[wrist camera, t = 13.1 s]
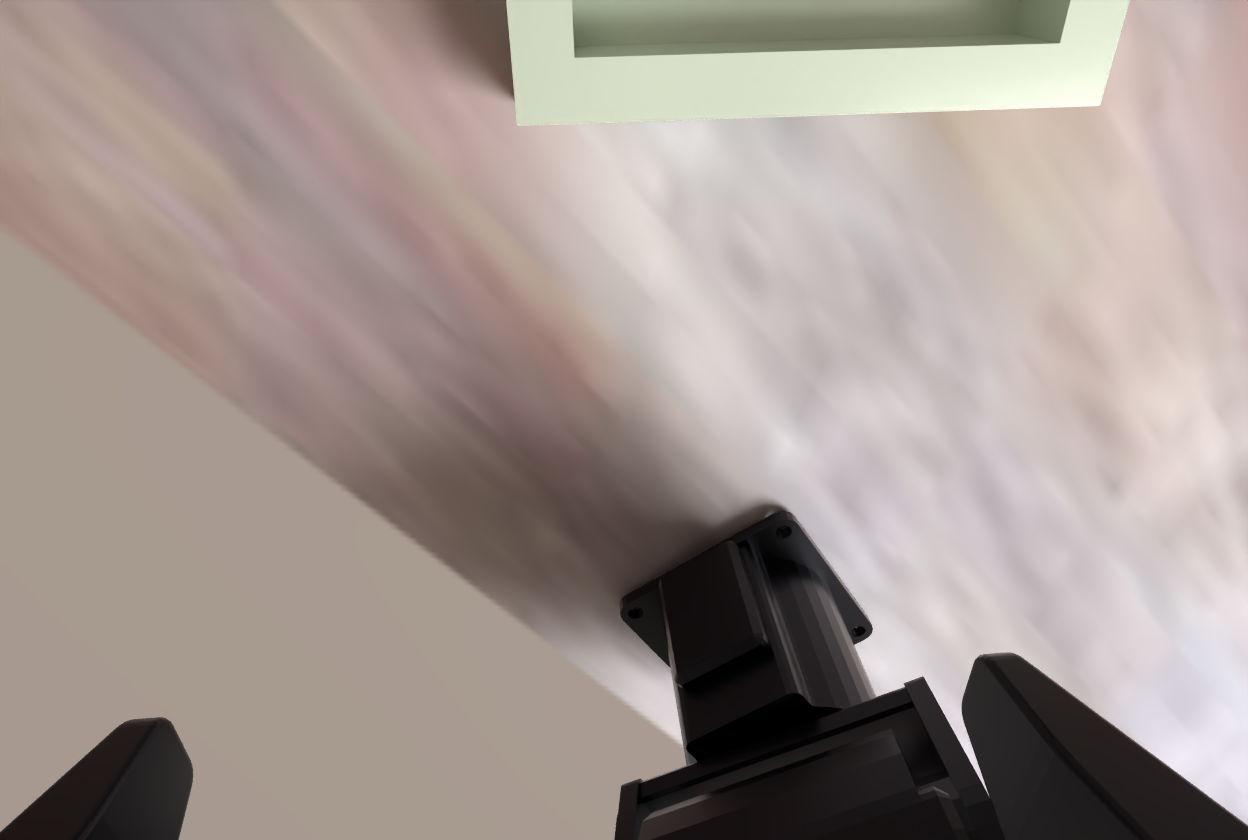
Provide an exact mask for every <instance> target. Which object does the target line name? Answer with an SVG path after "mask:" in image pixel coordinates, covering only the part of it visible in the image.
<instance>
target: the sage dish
mask: <svg viewBox="0 0 1248 840" xmlns="http://www.w3.org/2000/svg"><path fill="white" fill-rule="evenodd" d="M1129 2H1130V0H506V4H507V16H508V28H509V39H510V51H511V63H512V74H513V86H514V97H515V109H516V121H517V126H534V125H563V124H592V123H620V122H649V121H678V120H707V119H735V118H764V117H793V116H822V115H850V114H879V113H908V112H937V111H965V110H994V109H1023V108H1052V107H1080V106H1100V104H1101V100H1102V97H1103V93H1104V90H1105V86H1106V83H1107V79H1108V76H1109V72H1110V69H1111V65H1112V62H1113V58H1114V55H1115V51H1116V48H1117V44H1118V40H1119V37H1120V33H1121V30H1122V26H1123V23H1124V19H1125V16H1126V12H1127V9H1128V5H1129Z"/></svg>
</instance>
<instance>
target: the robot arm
mask: <svg viewBox="0 0 1248 840" xmlns="http://www.w3.org/2000/svg"><path fill="white" fill-rule="evenodd" d="M781 526H787V527H786V528H785V529H783V530H777V529H778V528H779V527H781ZM635 607H637V608H639V609H636V610H631V608H635ZM620 615H621V618H622V619H623V621H624V622H625V623H626V624H627V625H628V626H629V627H630V628H631V629H632V630H633V631H634V632H635V633H636V634H637V635H638V636H639V637H640V638H641V639H642V640H643V641H644V642H645V643H646V644H647V645H648V646H649V647H650V648H651V649H652V650H653V651H654V652H655V653H656V654H657V655H658V656H659V657H660V658H661V659H662V660H663V661H664V662H665V663H666V664H667V665H668V666H669V667H670V668H671V673H672V679H673V685H674V691H675V697H676V703H677V709H678V716H679V722H680V728H681V734H682V740H683V746H684V752H685V758H686V764H687V766H684V767H681V768H678V769H676V770H673V771H670V772H667V773H664V774H662V775H659V776H656V777H653V778H651V779H648V780H645V781H642V780H641V779H638V780H635V781H632V782H629V783H627V784H624V785H622V786H621V793H620V802H619V812H618V815H617V822H616V831H615V840H1248V825H1246V824H1245V823H1244V822H1242V821H1241V820H1240V819H1238V818H1237V817H1236V816H1234V815H1233V814H1232V813H1230V812H1229V811H1228V810H1226V809H1225V808H1224V807H1222V806H1221V805H1220V804H1218V803H1217V802H1216V801H1214V800H1213V799H1212V798H1210V797H1209V796H1208V795H1206V794H1205V793H1204V792H1202V791H1201V790H1199V789H1198V788H1197V787H1195V786H1194V785H1193V784H1191V783H1190V782H1189V781H1187V780H1186V779H1185V778H1183V777H1182V776H1181V775H1179V774H1178V773H1177V772H1175V771H1174V770H1173V769H1171V768H1170V767H1169V766H1167V765H1166V764H1165V763H1163V762H1162V761H1161V760H1159V759H1158V758H1157V757H1155V756H1154V755H1153V754H1151V753H1150V752H1148V751H1147V750H1146V749H1144V748H1143V747H1142V746H1140V745H1139V744H1138V743H1136V742H1135V741H1134V740H1132V739H1131V738H1130V737H1128V736H1127V735H1126V734H1124V733H1123V732H1122V731H1120V730H1119V729H1118V728H1116V727H1115V726H1114V725H1112V724H1111V723H1110V722H1108V721H1107V720H1106V719H1104V718H1103V717H1101V716H1100V715H1099V714H1097V713H1096V712H1095V711H1093V710H1092V709H1091V708H1089V707H1088V706H1087V705H1085V704H1084V703H1083V702H1081V701H1080V700H1079V699H1077V698H1076V697H1075V696H1073V695H1072V694H1071V693H1069V692H1068V691H1067V690H1065V689H1064V688H1063V687H1061V686H1060V685H1059V684H1057V683H1056V682H1054V681H1053V680H1052V679H1050V678H1049V677H1048V676H1046V675H1045V674H1044V673H1042V672H1041V671H1040V670H1038V669H1037V668H1036V667H1034V666H1033V665H1032V664H1030V663H1029V662H1028V661H1026V660H1025V659H1024V658H1022V657H1021V656H1019V655H1017V654H1014V653H1007V652H1006V653H993V654H983V655H980V656H979V657H978V658H977V659H976V660H975V662H974V664H973V667H972V670H971V674H970V677H969V680H968V683H967V686H966V689H965V693H964V696H963V699H962V716H963V720H964V724H965V727H966V730H967V733H968V735H969V738H970V741H971V744H972V747H973V750H974V753H975V756H976V759H977V762H978V765H979V767H980V770H981V773H982V776H983V779H984V782H985V785H986V788H987V791H988V794H989V796H988V794H987V792H986V790H985V788H984V786H983V784H982V782H981V781H980V779H979V777H978V775H977V773H976V772H975V770H974V768H973V766H972V764H971V762H970V761H969V759H968V757H967V755H966V753H965V752H964V750H963V748H962V746H961V744H960V742H959V741H958V739H957V737H956V735H955V733H954V731H953V730H952V728H951V726H950V724H949V722H948V721H947V719H946V717H945V715H944V713H943V711H942V710H941V708H940V706H939V704H938V702H937V701H936V699H935V697H934V695H933V693H932V691H931V690H930V688H929V686H928V684H927V682H926V680H925V679H924V677H920V678H917V679H915V680H912V681H909V682H906V683H904V686H905V687H903V688H901V689H898V690H895V691H892V692H889V693H887V694H884V695H881V696H878V697H876V695H875V693H874V691H873V688H872V686H871V684H870V681H869V679H868V677H867V674H866V672H865V670H864V667H863V665H862V663H861V660H860V658H859V656H858V654H857V651H856V649H855V647H854V645H855V644H857V643H859V642H861V641H863V640H865V639H866V638H868V637H869V636H870V635H871V633H872V630H873V628H872V625H871V623H870V621H869V618H868V616H867V615H866V614H865V612H864V611H863V609H862V608H861V607H860V605H859V604H858V603H857V601H856V600H855V598H854V597H853V596H852V594H851V593H850V592H849V590H848V589H847V587H846V586H845V585H844V583H843V582H842V581H841V579H840V578H839V576H838V575H837V574H836V572H835V571H834V570H833V568H832V567H831V565H830V564H829V563H828V561H827V560H826V559H825V557H824V556H823V554H822V553H821V552H820V550H819V549H818V548H817V546H816V545H815V543H814V542H813V541H812V539H811V538H810V537H809V535H808V534H807V532H806V531H805V530H804V528H803V527H802V526H801V524H800V523H799V521H798V520H797V519H796V517H795V516H794V515H793V514H792V513H789V512H786V511H782V512H777V513H774V514H772V515H770V516H768V517H767V518H765V519H763V520H761V521H759V522H758V523H756V524H754V525H752V526H750V527H749V528H747V529H745V530H743V531H741V532H740V533H738V534H736V535H734V536H732V537H731V538H729V539H727V540H725V541H723V542H721V543H720V544H718V545H716V546H714V547H712V548H711V549H709V550H707V551H705V552H703V553H702V554H700V555H698V556H696V557H694V558H693V559H691V560H689V561H687V562H685V563H684V564H682V565H680V566H678V567H676V568H675V569H673V570H671V571H669V572H667V573H666V574H664V575H662V576H660V577H658V578H657V579H655V580H653V581H651V582H649V583H648V584H646V585H644V586H642V587H640V588H639V589H637V590H635V591H633V592H631V593H630V594H628V595H626V596H625V597H623V598H622V599H621V601H620ZM855 627H856V628H855ZM192 782H193V768H192V763H191V760H190V758H189V756H188V754H187V752H186V750H185V748H184V746H183V744H182V742H181V740H180V738H179V736H178V734H177V732H176V730H175V729H174V726H173V724H172V723H171V722H170V721H169V720H167V719H166V718H162V717H159V718H146V719H134V720H129V721H126V722H124V723H123V724H121V725H119V726H118V727H117V728H116V729H115V730H113V732H111V733H110V734H109V735H108V736H107V737H106V738H105V739H104V740H103V741H101V742H100V743H99V744H98V745H97V746H96V747H95V748H93V749H92V750H91V751H90V752H89V753H88V754H87V755H86V756H85V757H83V758H82V759H81V760H80V761H79V762H78V763H77V764H76V765H75V766H73V767H72V768H71V769H70V770H69V771H68V772H67V773H66V774H64V776H62V777H61V778H60V779H59V780H58V781H57V782H56V783H54V785H52V786H51V787H50V788H49V789H48V790H47V791H46V792H44V793H43V794H42V795H41V796H40V797H39V798H38V799H37V800H35V801H34V802H33V803H32V804H31V805H30V806H29V807H28V808H27V809H25V810H24V811H23V812H22V813H21V814H20V815H19V816H18V817H17V818H15V819H14V820H13V821H12V822H11V823H10V824H9V825H8V826H6V827H5V828H4V829H3V830H2V831H1V832H0V840H179V836H180V832H181V828H182V824H183V820H184V816H185V812H186V807H187V803H188V799H189V795H190V791H191V787H192Z"/></svg>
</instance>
